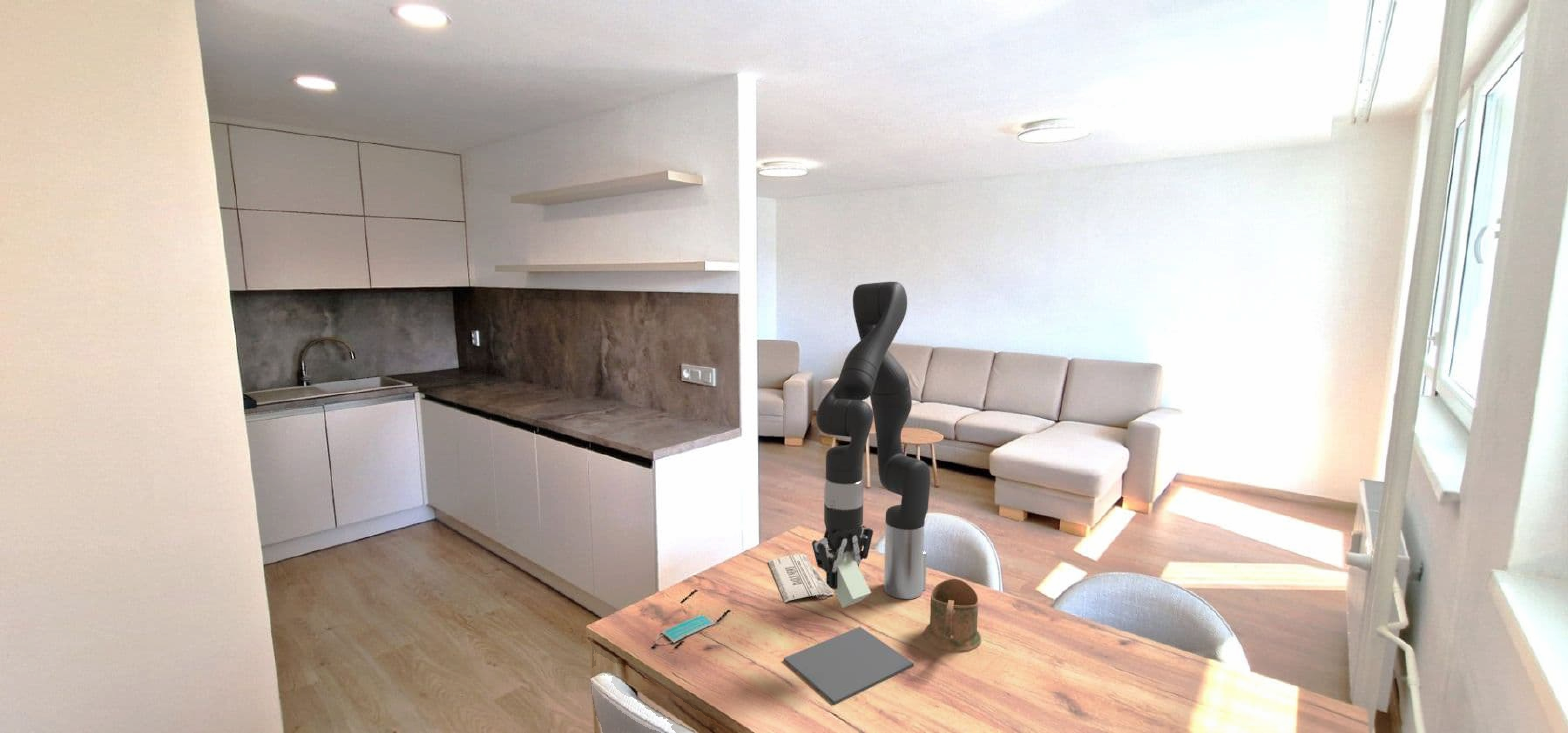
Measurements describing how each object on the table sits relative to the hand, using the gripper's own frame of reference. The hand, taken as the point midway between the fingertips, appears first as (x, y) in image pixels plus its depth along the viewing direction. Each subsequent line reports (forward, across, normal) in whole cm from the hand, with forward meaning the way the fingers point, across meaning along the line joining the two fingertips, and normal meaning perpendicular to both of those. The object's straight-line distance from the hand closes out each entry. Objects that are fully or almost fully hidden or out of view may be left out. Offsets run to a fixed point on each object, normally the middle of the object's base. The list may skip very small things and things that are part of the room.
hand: (842, 583), depth 127 cm
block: (+2, 0, +4) cm, 4 cm away
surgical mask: (+17, +20, -27) cm, 37 cm away
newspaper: (+17, -13, -32) cm, 39 cm away
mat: (+16, 0, +2) cm, 16 cm away
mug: (+16, -22, +9) cm, 29 cm away
